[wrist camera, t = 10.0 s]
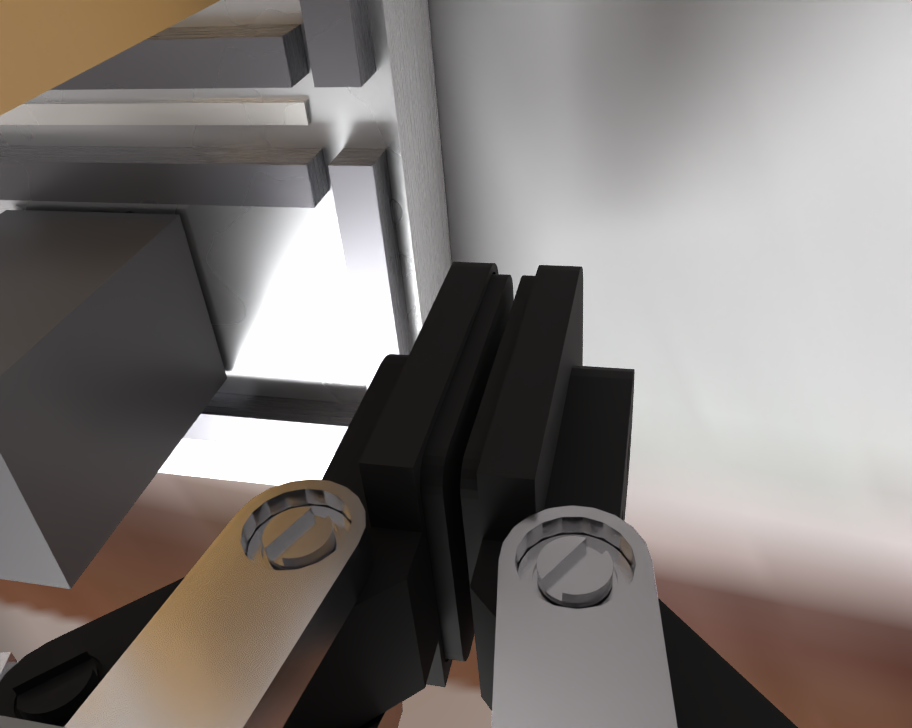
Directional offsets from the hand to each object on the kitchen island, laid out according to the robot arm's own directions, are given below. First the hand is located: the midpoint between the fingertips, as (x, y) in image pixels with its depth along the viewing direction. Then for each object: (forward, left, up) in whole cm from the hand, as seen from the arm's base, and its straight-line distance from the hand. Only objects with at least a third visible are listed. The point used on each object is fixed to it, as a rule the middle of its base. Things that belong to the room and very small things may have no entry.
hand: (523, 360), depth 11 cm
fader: (0, -7, -1) cm, 7 cm away
